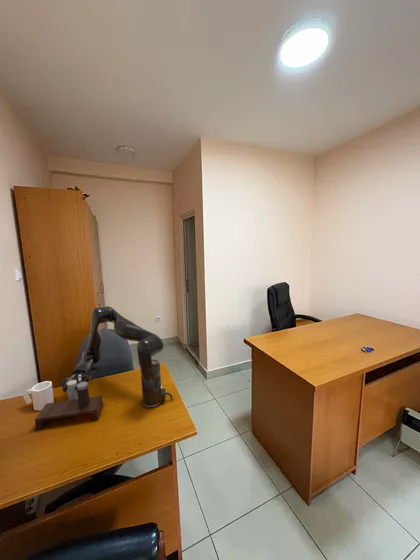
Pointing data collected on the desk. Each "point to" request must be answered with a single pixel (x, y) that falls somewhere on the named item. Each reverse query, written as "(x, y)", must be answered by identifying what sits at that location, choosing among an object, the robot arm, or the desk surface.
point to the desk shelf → (68, 410)
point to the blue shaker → (72, 390)
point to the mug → (40, 395)
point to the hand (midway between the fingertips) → (70, 389)
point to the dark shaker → (83, 394)
